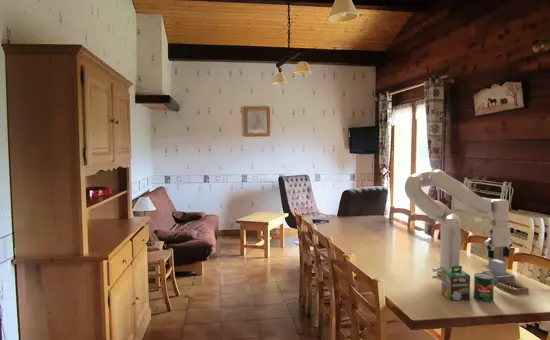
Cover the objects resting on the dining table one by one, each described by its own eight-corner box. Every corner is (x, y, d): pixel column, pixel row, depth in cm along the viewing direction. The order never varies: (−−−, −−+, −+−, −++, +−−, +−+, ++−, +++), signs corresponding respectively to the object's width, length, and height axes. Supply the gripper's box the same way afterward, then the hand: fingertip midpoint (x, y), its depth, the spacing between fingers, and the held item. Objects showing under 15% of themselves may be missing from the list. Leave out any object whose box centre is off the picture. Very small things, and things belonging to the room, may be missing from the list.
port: (497, 285, 196) (497, 276, 195) (482, 278, 205) (482, 270, 205) (514, 283, 198) (514, 275, 198) (498, 277, 208) (498, 269, 207)
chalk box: (460, 292, 186) (461, 262, 185) (470, 300, 177) (471, 268, 176) (440, 293, 186) (441, 262, 185) (450, 300, 177) (450, 268, 176)
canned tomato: (487, 295, 182) (487, 272, 181) (497, 302, 174) (498, 278, 174) (470, 296, 182) (470, 272, 181) (479, 303, 174) (480, 278, 173)
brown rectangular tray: (514, 294, 183) (514, 290, 183) (497, 287, 193) (497, 282, 193) (528, 292, 185) (528, 288, 185) (510, 285, 195) (510, 281, 195)
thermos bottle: (508, 271, 217) (509, 221, 215) (496, 272, 214) (498, 221, 213) (496, 267, 224) (498, 218, 222) (484, 268, 222) (486, 219, 220)
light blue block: (499, 283, 198) (500, 262, 198) (490, 279, 204) (491, 259, 203) (505, 282, 199) (506, 262, 198) (496, 278, 205) (496, 259, 204)
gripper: (491, 226, 194) (489, 260, 195) (519, 224, 198) (518, 258, 199) (479, 223, 201) (478, 256, 202) (507, 221, 205) (506, 254, 207)
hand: (498, 257), depth 201 cm, fingers open, 8 cm apart
